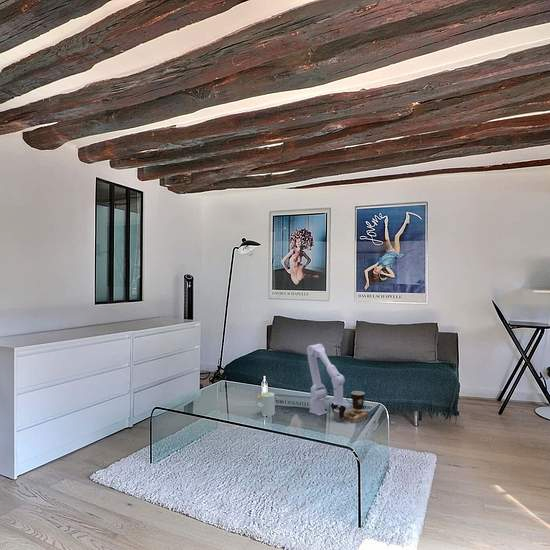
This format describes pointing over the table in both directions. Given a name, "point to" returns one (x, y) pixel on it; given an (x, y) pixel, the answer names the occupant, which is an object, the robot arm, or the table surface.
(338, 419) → the plug
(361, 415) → the socket board
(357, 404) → the coffee mug
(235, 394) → the table surface
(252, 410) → the table surface
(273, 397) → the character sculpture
